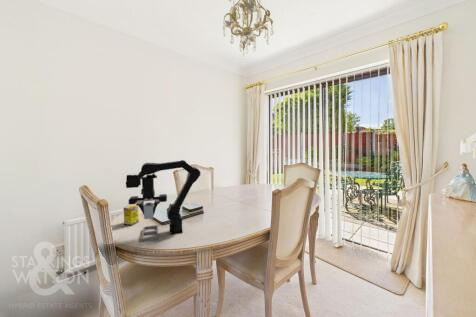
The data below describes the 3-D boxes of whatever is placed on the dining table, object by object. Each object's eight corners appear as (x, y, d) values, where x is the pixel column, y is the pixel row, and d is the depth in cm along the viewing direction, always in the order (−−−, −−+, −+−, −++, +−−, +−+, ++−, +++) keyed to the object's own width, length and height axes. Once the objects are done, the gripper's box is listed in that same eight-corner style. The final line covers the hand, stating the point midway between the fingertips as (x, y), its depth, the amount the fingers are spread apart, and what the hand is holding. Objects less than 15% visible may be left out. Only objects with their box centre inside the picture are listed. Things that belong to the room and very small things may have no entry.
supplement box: (131, 226, 127) (131, 208, 126) (123, 224, 129) (123, 207, 128) (139, 222, 133) (138, 205, 132) (131, 221, 134) (130, 204, 133)
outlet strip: (158, 227, 125) (158, 225, 125) (157, 239, 111) (157, 236, 111) (142, 229, 123) (142, 227, 122) (139, 241, 108) (139, 239, 108)
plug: (154, 215, 117) (153, 201, 116) (153, 218, 113) (152, 204, 112) (145, 216, 116) (144, 202, 115) (144, 219, 111) (143, 204, 111)
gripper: (166, 182, 123) (167, 208, 124) (131, 184, 117) (133, 211, 119) (166, 186, 112) (167, 214, 114) (127, 188, 107) (129, 218, 108)
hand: (149, 214), depth 114 cm, fingers closed on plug, 4 cm apart
